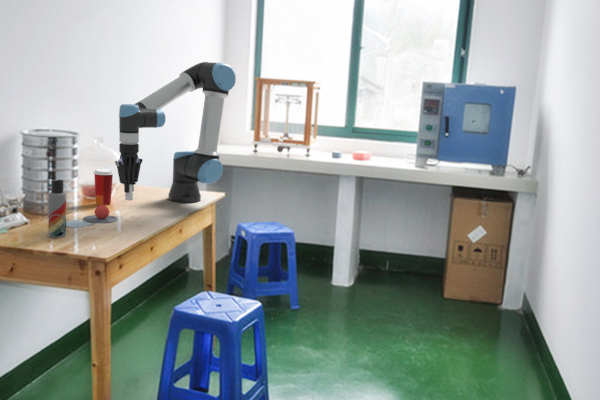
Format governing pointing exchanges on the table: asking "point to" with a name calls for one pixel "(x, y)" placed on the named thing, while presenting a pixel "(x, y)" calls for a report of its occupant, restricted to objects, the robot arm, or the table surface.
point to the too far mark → (77, 223)
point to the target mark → (96, 220)
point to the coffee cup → (103, 186)
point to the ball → (101, 212)
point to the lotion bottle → (57, 210)
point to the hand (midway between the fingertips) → (128, 199)
